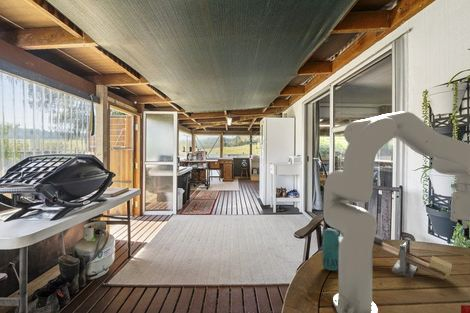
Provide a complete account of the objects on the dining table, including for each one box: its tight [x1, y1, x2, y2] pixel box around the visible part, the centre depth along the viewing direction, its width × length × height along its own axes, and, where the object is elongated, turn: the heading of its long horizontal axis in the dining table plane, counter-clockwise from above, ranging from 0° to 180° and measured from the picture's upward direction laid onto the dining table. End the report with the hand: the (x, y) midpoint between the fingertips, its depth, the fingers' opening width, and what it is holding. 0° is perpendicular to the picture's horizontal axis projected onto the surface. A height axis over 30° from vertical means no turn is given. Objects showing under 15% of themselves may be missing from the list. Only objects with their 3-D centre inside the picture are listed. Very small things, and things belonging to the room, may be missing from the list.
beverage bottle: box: [321, 222, 340, 271], centre depth 100 cm, size 6×7×20 cm
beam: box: [373, 233, 446, 280], centre depth 101 cm, size 7×28×5 cm, turn 46°
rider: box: [429, 255, 453, 277], centre depth 93 cm, size 5×6×4 cm
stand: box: [391, 237, 418, 279], centre depth 100 cm, size 13×7×11 cm, turn 136°
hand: (469, 239), depth 87 cm, fingers closed
